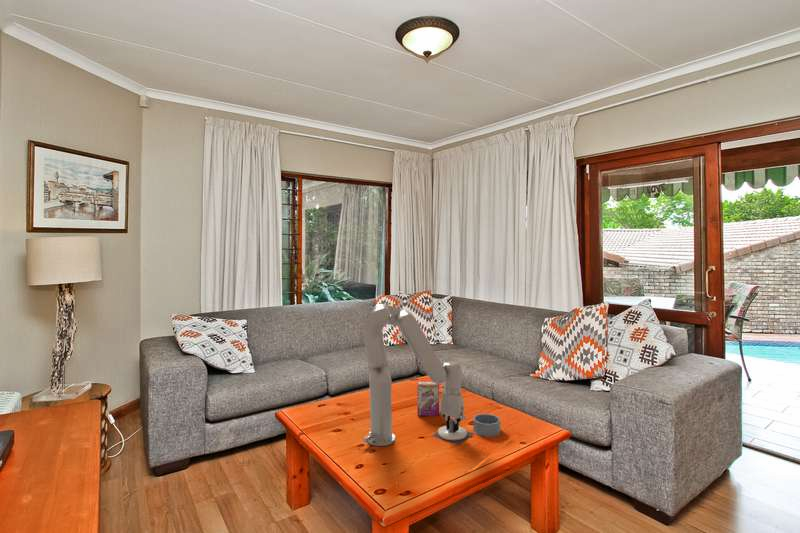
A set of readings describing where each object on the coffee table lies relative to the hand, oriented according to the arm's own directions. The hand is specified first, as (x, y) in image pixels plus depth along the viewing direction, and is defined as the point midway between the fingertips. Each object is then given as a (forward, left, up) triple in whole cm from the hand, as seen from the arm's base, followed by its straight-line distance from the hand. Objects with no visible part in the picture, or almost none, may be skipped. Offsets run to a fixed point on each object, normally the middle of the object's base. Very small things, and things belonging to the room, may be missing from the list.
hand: (452, 429), depth 187 cm
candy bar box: (+13, +23, -3) cm, 27 cm away
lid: (0, 0, -2) cm, 2 cm away
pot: (+13, -10, -3) cm, 17 cm away
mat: (0, 0, -3) cm, 3 cm away
